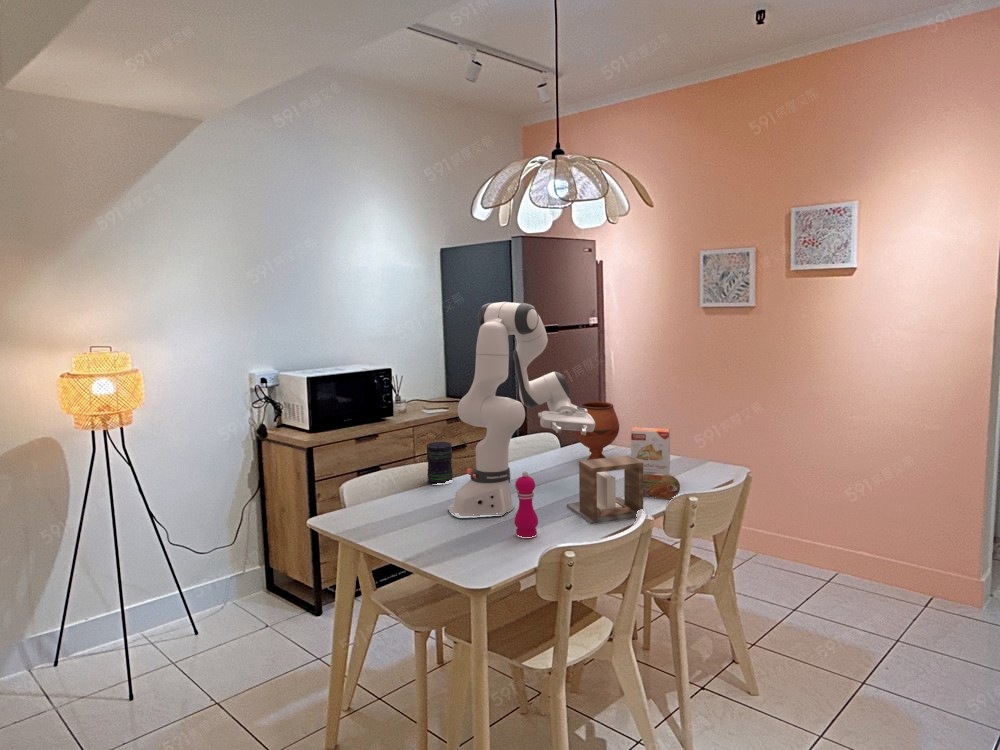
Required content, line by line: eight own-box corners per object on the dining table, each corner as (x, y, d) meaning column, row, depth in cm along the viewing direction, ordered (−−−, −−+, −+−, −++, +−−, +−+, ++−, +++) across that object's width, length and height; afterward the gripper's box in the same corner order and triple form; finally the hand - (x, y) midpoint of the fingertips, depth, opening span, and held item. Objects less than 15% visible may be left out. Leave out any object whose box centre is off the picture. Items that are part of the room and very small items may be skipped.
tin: (636, 495, 244) (636, 473, 242) (638, 493, 246) (638, 470, 245) (678, 501, 237) (678, 477, 235) (680, 498, 239) (681, 475, 238)
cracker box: (630, 484, 258) (630, 429, 255) (632, 479, 263) (632, 426, 261) (668, 486, 253) (669, 431, 251) (670, 482, 259) (670, 428, 256)
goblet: (576, 468, 282) (575, 408, 279) (572, 456, 301) (572, 400, 298) (622, 467, 281) (622, 407, 278) (616, 455, 300) (616, 399, 297)
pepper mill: (513, 531, 211) (512, 468, 209) (536, 530, 212) (535, 467, 209) (515, 540, 204) (514, 475, 201) (539, 539, 204) (538, 474, 202)
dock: (590, 524, 216) (589, 469, 213) (566, 506, 234) (566, 455, 231) (646, 516, 222) (646, 462, 219) (619, 499, 240) (619, 449, 237)
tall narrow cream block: (600, 513, 222) (600, 479, 221) (588, 505, 231) (588, 472, 229) (622, 510, 225) (622, 477, 223) (610, 502, 233) (609, 470, 232)
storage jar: (429, 478, 272) (428, 442, 270) (454, 478, 271) (453, 441, 269) (426, 486, 262) (424, 448, 260) (451, 485, 262) (450, 447, 260)
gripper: (538, 404, 254) (545, 422, 241) (591, 409, 258) (600, 427, 245) (535, 419, 256) (541, 437, 244) (587, 423, 260) (596, 442, 248)
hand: (571, 432), depth 245 cm, fingers open, 8 cm apart
